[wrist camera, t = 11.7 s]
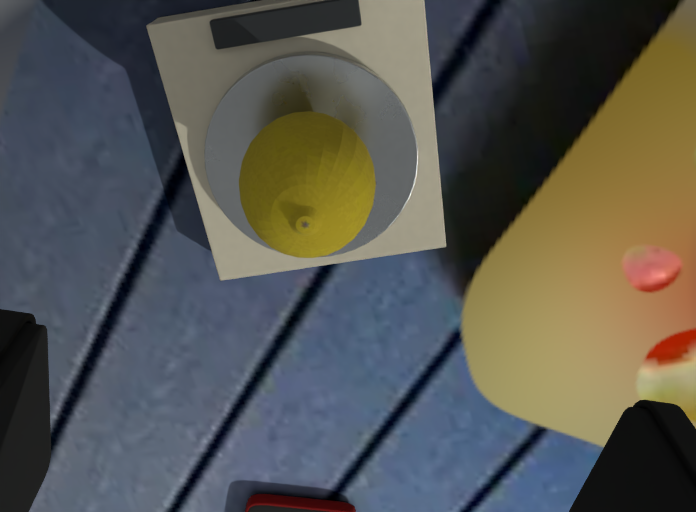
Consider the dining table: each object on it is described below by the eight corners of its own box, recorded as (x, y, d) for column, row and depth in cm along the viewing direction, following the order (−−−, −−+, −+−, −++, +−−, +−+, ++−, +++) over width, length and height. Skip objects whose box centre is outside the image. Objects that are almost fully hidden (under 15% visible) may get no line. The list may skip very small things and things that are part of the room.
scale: (157, 17, 30) (141, 28, 27) (415, -27, 29) (425, -20, 26) (225, 261, 36) (217, 289, 33) (439, 228, 35) (449, 254, 33)
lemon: (393, 135, 29) (414, 206, 22) (325, 225, 32) (326, 316, 25) (291, 65, 28) (280, 118, 21) (227, 165, 30) (197, 244, 23)
